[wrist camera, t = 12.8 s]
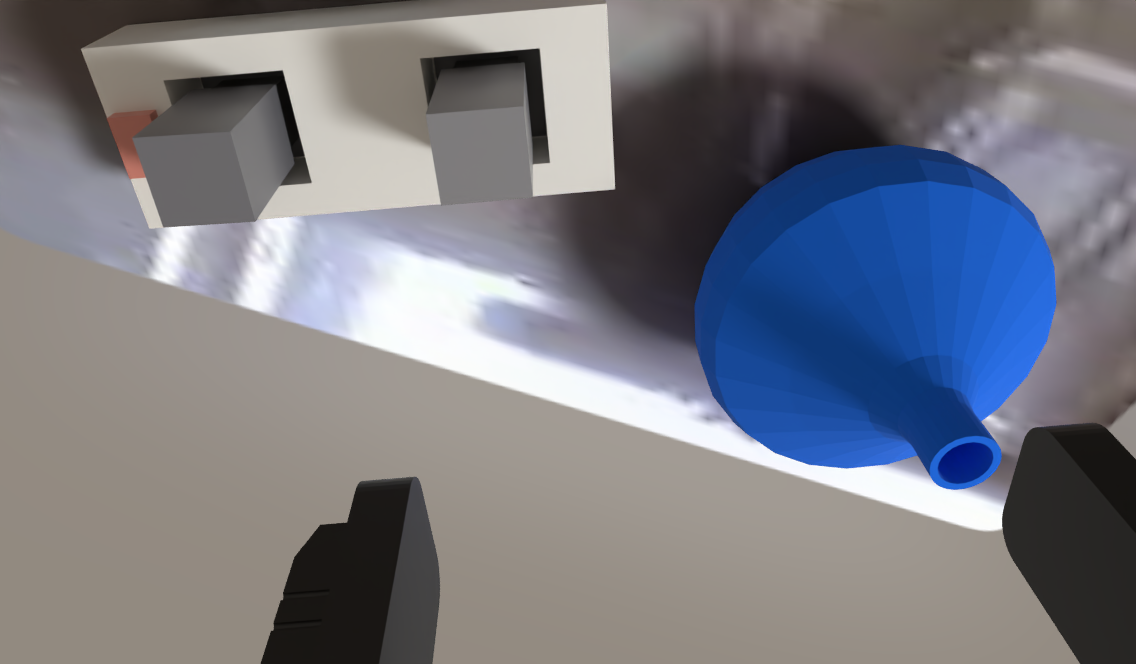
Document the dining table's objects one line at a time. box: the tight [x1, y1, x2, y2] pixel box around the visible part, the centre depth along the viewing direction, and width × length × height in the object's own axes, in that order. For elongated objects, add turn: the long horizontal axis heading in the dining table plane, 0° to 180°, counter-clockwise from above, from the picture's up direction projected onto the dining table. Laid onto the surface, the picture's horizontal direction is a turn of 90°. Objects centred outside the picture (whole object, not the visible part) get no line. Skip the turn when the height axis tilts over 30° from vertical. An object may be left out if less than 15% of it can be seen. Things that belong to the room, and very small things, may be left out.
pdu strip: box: [81, 0, 615, 229], centre depth 41 cm, size 9×24×6 cm, turn 94°
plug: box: [132, 76, 299, 227], centre depth 39 cm, size 4×4×10 cm
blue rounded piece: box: [695, 145, 1056, 490], centre depth 42 cm, size 18×18×19 cm
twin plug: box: [426, 56, 533, 205], centre depth 38 cm, size 4×4×10 cm
